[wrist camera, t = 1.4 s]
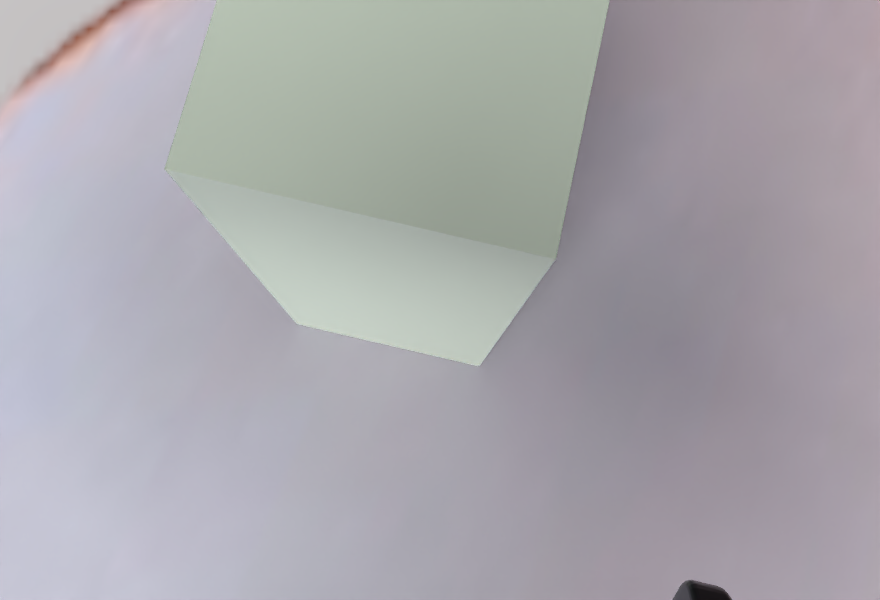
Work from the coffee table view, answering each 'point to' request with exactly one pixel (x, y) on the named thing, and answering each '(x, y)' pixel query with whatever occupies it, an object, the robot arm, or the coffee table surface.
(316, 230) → the column
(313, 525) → the coffee table surface
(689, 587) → the robot arm
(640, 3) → the coffee table surface
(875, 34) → the coffee table surface
